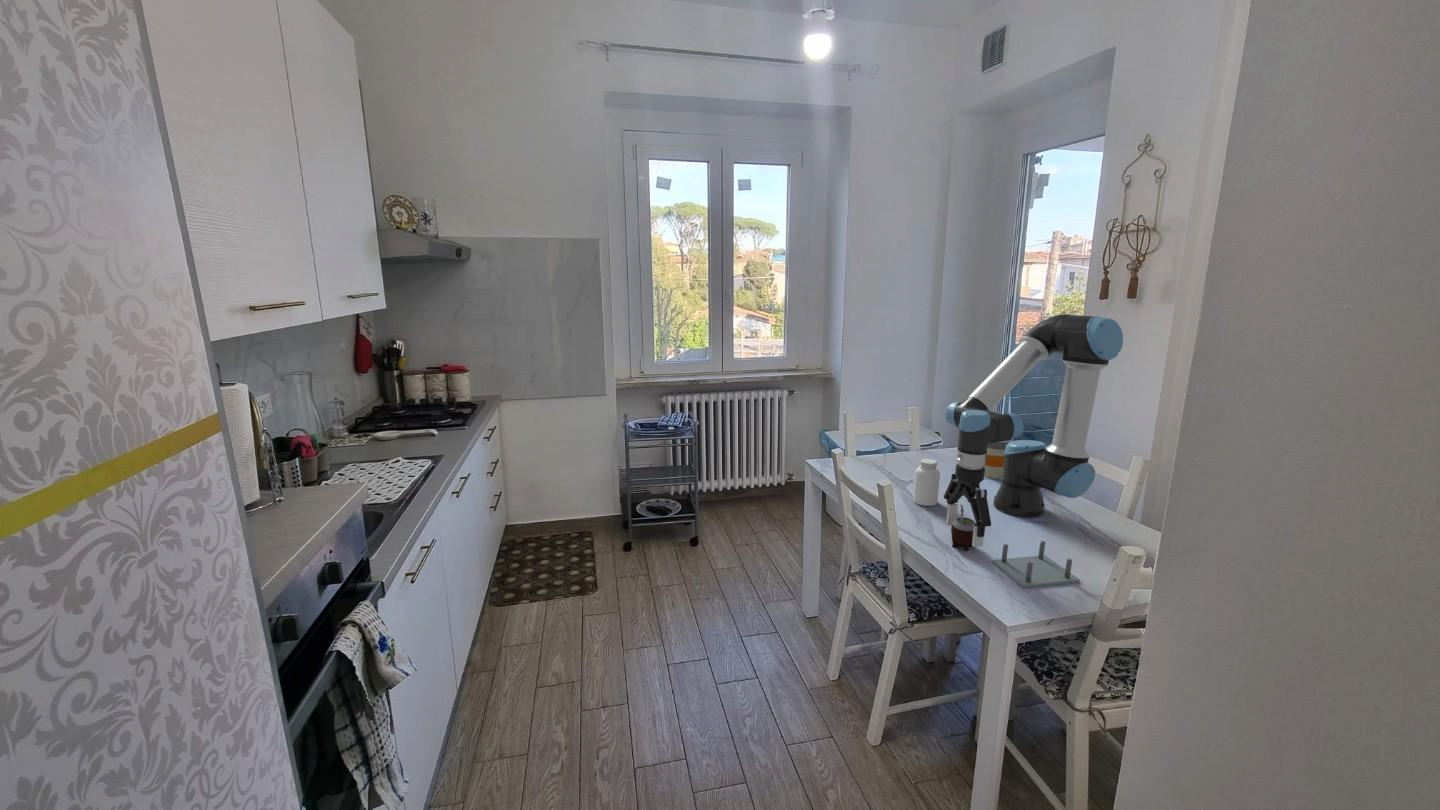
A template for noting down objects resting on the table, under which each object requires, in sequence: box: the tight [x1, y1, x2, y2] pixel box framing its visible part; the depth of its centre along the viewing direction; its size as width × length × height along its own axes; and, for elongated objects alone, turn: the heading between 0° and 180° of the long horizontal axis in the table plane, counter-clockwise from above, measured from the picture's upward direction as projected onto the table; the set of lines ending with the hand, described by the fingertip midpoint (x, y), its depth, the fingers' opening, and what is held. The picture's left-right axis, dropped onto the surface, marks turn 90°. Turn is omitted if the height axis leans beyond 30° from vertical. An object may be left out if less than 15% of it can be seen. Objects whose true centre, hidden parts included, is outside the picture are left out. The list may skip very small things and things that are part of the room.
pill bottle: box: [912, 458, 941, 507], centre depth 196 cm, size 8×8×15 cm
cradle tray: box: [991, 540, 1081, 589], centre depth 152 cm, size 16×13×6 cm
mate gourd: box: [950, 504, 976, 553], centre depth 165 cm, size 8×8×15 cm
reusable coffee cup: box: [984, 439, 1015, 480], centre depth 220 cm, size 13×13×15 cm
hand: (963, 535), depth 166 cm, fingers open, 13 cm apart
